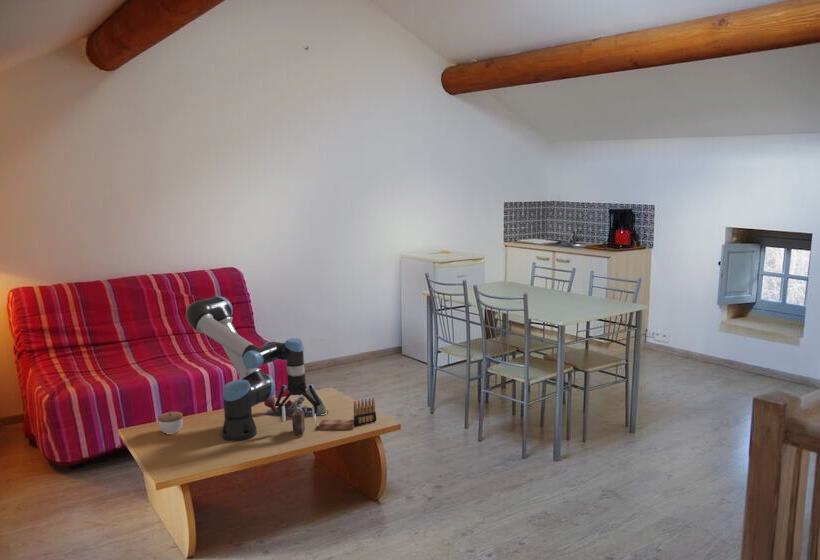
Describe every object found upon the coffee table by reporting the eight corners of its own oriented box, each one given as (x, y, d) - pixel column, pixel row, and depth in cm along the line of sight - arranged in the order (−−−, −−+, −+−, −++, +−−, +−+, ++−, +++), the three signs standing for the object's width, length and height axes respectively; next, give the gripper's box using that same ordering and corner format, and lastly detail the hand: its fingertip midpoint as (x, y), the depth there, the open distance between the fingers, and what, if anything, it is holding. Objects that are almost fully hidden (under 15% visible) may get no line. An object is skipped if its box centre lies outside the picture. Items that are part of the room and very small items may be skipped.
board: (319, 429, 318) (319, 424, 318) (321, 425, 324) (321, 419, 323) (352, 429, 317) (352, 424, 317) (354, 425, 322) (354, 419, 322)
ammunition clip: (375, 421, 328) (374, 396, 326) (376, 422, 326) (375, 397, 324) (353, 425, 323) (352, 400, 321) (354, 426, 321) (353, 401, 320)
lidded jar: (159, 438, 313) (157, 417, 311) (158, 430, 322) (156, 410, 321) (185, 434, 317) (183, 414, 315) (183, 426, 326) (181, 406, 325)
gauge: (293, 434, 312) (291, 413, 311) (298, 426, 322) (297, 405, 321) (302, 434, 312) (300, 413, 311) (306, 426, 322) (305, 405, 321)
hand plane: (326, 416, 335) (324, 386, 333) (262, 415, 339) (261, 385, 337) (329, 411, 342) (328, 381, 340) (267, 410, 346) (265, 380, 344)
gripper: (265, 377, 308) (269, 424, 311) (322, 375, 307) (325, 423, 310) (270, 372, 316) (273, 418, 319) (325, 371, 314) (328, 417, 317)
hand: (299, 420), depth 314 cm, fingers open, 13 cm apart
